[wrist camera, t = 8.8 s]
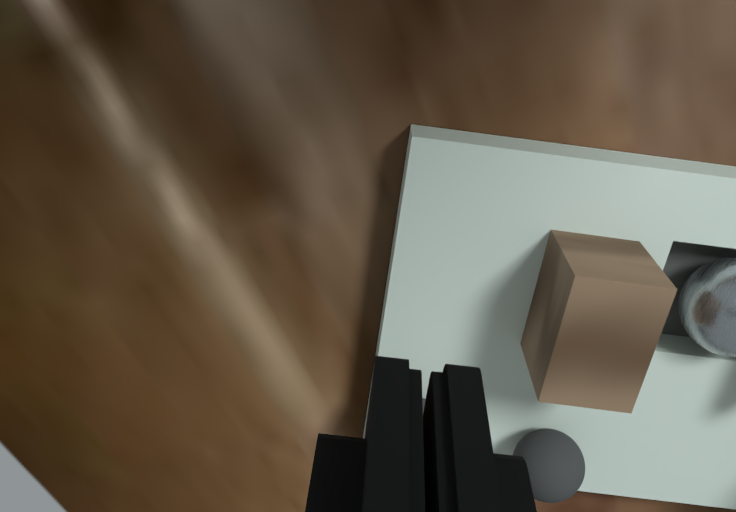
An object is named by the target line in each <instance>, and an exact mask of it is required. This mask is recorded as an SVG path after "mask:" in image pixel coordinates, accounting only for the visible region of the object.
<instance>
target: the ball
mask: <svg viewBox="0 0 736 512" xmlns="http://www.w3.org/2000/svg"><path fill="white" fill-rule="evenodd" d="M513 455H514V456H522V457H523V458H524V459H525V461H526V464H527V468H528V472H529V477H530V482H531V487H532V492H533V497H534V499H536V500H539V501H542V502H548V503H555V502H560V501H563V500H566V499H568V498H570V497H571V496H572V495H574V494H575V493H576V492H577V490H578V489H579V488H580V486H581V484H582V482H583V479H584V476H585V461H584V457H583V454H582V452H581V450H580V448H579V446H578V445H577V444H576V442H575V441H574V440H573V439H572V438H571V437H569V436H568V435H566V434H565V433H563V432H561V431H558V430H555V429H549V428H543V429H537V430H534V431H531V432H529V433H528V434H526V435H525V436H524V437H523V438H522V439H521V440H520V441H519V442H518V443H517V445H516V447H515V449H514V452H513Z"/></svg>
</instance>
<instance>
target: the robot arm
mask: <svg viewBox="0 0 736 512" xmlns="http://www.w3.org/2000/svg"><path fill="white" fill-rule="evenodd" d="M305 512H537V511H536V506H535V502H534V497H533V492H532V487H531V482H530V477H529V472H528V468H527V464H526V461H525V459H524V458H523V457H522V456H514V455H505V454H496V453H493V447H492V440H491V434H490V427H489V421H488V414H487V407H486V401H485V394H484V387H483V381H482V374H481V370H480V368H479V367H471V366H462V365H453V364H445V366H444V368H443V372H434V371H432V372H431V374H430V378H429V384H428V389H427V395H426V400H425V406H424V412H423V405H422V372H421V370H417V369H409V359H400V358H392V357H383V356H375V361H374V369H373V376H372V384H371V392H370V400H369V407H368V415H367V423H366V430H365V438H355V437H346V436H337V435H328V434H320V433H319V434H318V439H317V444H316V450H315V456H314V462H313V468H312V474H311V480H310V486H309V492H308V498H307V504H306V510H305Z"/></svg>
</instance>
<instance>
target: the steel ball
mask: <svg viewBox="0 0 736 512" xmlns="http://www.w3.org/2000/svg"><path fill="white" fill-rule="evenodd" d="M678 308H679V315H680V319H681V322H682V324H683V327H684V329H685V330H686V332H687V333H688V335H689V336H690V337H691V338H692V339H693V340H694V341H695V342H696V343H697V344H698V345H700V346H701V347H702V348H704V349H706V350H708V351H710V352H712V353H715V354H718V355H722V356H726V357H736V258H725V259H719V260H715V261H712V262H709V263H707V264H705V265H703V266H702V267H700V268H698V269H697V270H696V271H695V272H694V273H692V274H691V275H690V277H689V278H688V279H687V281H686V282H685V284H684V285H683V287H682V290H681V293H680V296H679V304H678Z"/></svg>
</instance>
